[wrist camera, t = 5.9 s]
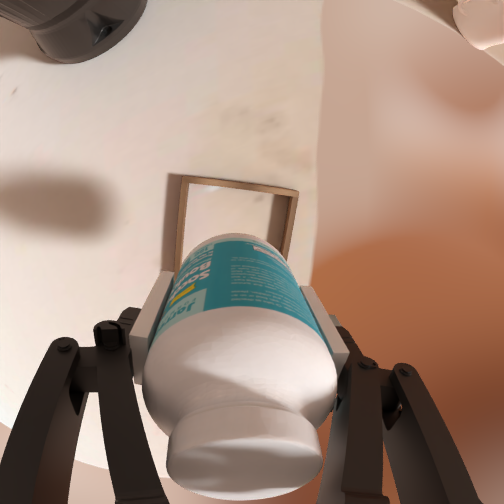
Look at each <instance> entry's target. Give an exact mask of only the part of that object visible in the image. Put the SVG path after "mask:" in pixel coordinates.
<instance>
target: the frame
mask: <svg viewBox="0 0 504 504" xmlns="http://www.w3.org/2000/svg"><path fill="white" fill-rule="evenodd" d="M189 183H194V184H203V185H212V186H220V187H228V188H236V189H244V190H251V191H259V192H266V193H272V194H279V195H286V196H290V198H289V204H288V210H287V216H286V221H285V227H284V233H283V238H282V244H281V250H280V254H281V255H282V256H283V257H284V259H285V260H286V262H287V257H288V252H289V247H290V241H291V236H292V230H293V225H294V219H295V214H296V208H297V202H298V196H299V192H298V191H296V190H290V189H284V188H278V187H271V186H264V185H258V184H250V183H243V182H235V181H227V180H219V179H211V178H202V177H192V176H182V182H181V192H180V201H179V212H178V223H177V235H176V248H175V264H174V283H175V281H176V278H177V275H178V273H179V271H180V268H181V266H182V252H183V239H184V227H185V217H186V207H187V197H188V188H189Z"/></svg>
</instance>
